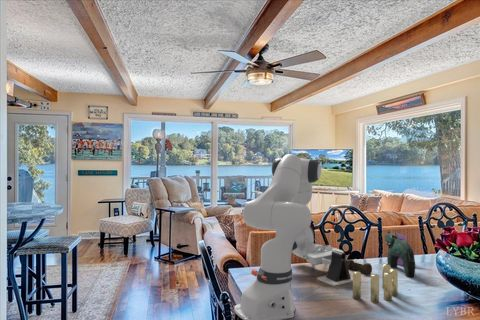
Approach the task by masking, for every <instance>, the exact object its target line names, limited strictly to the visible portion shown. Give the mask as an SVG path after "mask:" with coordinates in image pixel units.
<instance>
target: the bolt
mask: <svg viewBox="0 0 480 320" xmlns="http://www.w3.org/2000/svg"><path fill="white" fill-rule="evenodd" d="M346 263H347V266H348V270H355V271H356V270H357V271H359V272H361V273H362V272H363V274H364V275H365V276H369V275H371V274H372V271H373V266H372V264H371V263H369V262H367V263H364V264H362V263H358V262H355V261H354V260H353V259H347V261H346Z"/></svg>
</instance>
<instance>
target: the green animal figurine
mask: <svg viewBox="0 0 480 320" xmlns="http://www.w3.org/2000/svg"><path fill="white" fill-rule="evenodd" d="M398 233H400V230H399V229H395V233H392V232H390V231H389V230H387V233H386V234H385V236H384V243H385V245H386V246H388V248H387V257H386V258H387V259H386V260H387V264H389V265H390V268H392V269H395V268H398V265H397V262H398V259H399V258H401V260H402V261H403V265H402V266H403V269H404V274H405V277H406V278H415V273H416V260H415V253H414V250H413V247H412V245H411V244H410V243H409V241H408V240H407V241H406V240H404V239H399V237H398V235H397V234H398Z"/></svg>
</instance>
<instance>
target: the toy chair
mask: <svg viewBox="0 0 480 320" xmlns="http://www.w3.org/2000/svg"><path fill="white" fill-rule="evenodd" d="M396 234H397V235H398V237H399V239H404V240H406V241H407V242H408V238H407V236H406V235H404V234H401V233H396ZM397 266H404V265H403V261H402V260H401V258H399V259H398V262H397Z"/></svg>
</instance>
